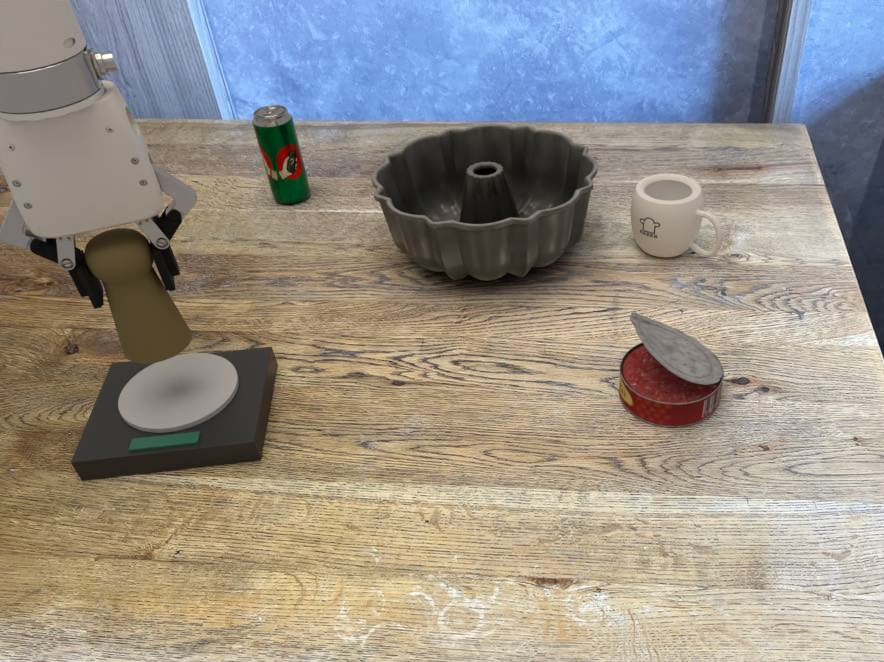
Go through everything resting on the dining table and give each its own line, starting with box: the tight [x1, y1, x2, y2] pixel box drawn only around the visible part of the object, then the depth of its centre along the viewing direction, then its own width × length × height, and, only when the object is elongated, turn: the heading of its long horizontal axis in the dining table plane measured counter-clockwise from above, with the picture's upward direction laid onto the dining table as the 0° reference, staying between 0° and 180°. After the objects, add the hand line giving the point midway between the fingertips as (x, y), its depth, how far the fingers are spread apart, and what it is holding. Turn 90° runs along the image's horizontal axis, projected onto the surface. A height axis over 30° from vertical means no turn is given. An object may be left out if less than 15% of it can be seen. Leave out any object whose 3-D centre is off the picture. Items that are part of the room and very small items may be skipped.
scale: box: [70, 346, 278, 481], centre depth 78 cm, size 16×14×3 cm
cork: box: [83, 227, 193, 364], centre depth 71 cm, size 6×6×11 cm
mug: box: [630, 173, 723, 258], centre depth 96 cm, size 12×8×8 cm
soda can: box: [252, 104, 311, 205], centre depth 108 cm, size 5×5×12 cm
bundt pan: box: [371, 123, 599, 281], centre depth 98 cm, size 26×26×10 cm
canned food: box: [618, 311, 725, 428], centre depth 78 cm, size 11×10×10 cm
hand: (134, 289), depth 71 cm, fingers closed on cork, 5 cm apart
